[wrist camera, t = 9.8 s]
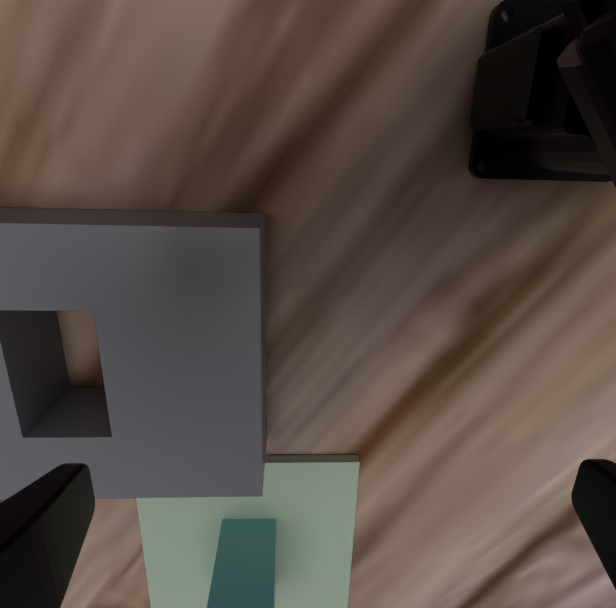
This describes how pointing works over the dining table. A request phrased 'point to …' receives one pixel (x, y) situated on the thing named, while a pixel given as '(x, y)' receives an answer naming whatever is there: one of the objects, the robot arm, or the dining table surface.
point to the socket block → (136, 350)
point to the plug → (245, 565)
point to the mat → (273, 504)
